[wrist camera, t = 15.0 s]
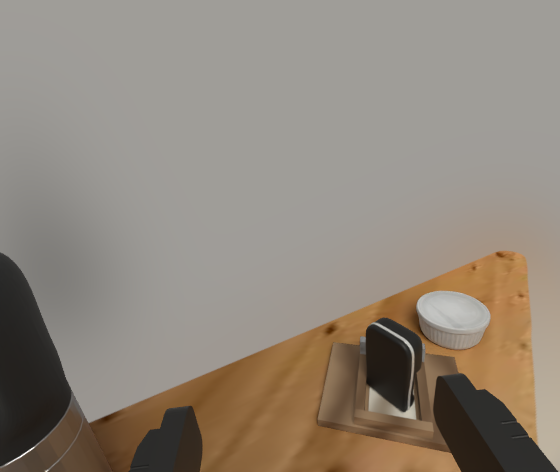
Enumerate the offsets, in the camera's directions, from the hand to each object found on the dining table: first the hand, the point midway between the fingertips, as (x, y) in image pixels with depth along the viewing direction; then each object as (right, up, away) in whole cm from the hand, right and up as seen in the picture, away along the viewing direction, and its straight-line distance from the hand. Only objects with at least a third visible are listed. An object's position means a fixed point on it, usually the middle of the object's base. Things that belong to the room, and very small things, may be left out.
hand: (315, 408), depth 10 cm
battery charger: (+15, -17, +35) cm, 42 cm away
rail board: (+15, -17, +37) cm, 43 cm away
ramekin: (+29, -12, +47) cm, 56 cm away
